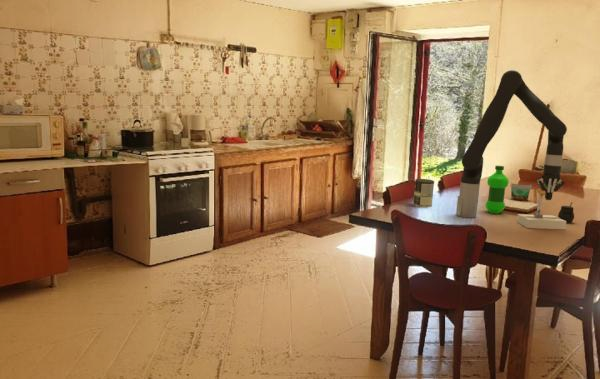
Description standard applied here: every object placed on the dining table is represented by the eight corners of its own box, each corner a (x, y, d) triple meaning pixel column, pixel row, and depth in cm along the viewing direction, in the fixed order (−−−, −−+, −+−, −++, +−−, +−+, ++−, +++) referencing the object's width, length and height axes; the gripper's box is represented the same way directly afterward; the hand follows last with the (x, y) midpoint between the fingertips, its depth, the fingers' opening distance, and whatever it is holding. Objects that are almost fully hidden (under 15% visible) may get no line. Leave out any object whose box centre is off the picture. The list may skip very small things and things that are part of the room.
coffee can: (410, 205, 285) (412, 180, 283) (416, 202, 294) (418, 178, 291) (428, 208, 280) (431, 182, 277) (434, 205, 289) (436, 180, 286)
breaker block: (527, 227, 244) (528, 219, 244) (516, 221, 256) (517, 213, 256) (565, 229, 245) (566, 221, 244) (552, 223, 257) (553, 215, 256)
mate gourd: (555, 221, 262) (557, 202, 260) (560, 219, 267) (563, 200, 265) (570, 224, 257) (573, 204, 255) (575, 222, 262) (578, 203, 260)
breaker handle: (537, 217, 248) (540, 190, 245) (532, 215, 252) (536, 188, 250) (543, 218, 248) (546, 190, 245) (539, 215, 252) (542, 189, 250)
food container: (510, 200, 314) (512, 184, 313) (508, 198, 320) (510, 182, 319) (531, 202, 312) (533, 186, 310) (529, 200, 318) (532, 184, 316)
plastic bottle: (506, 212, 279) (511, 166, 274) (502, 215, 270) (508, 168, 266) (486, 209, 284) (491, 164, 279) (482, 212, 275) (487, 166, 270)
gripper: (562, 163, 249) (557, 199, 252) (535, 162, 249) (530, 197, 252) (570, 165, 242) (565, 202, 245) (542, 164, 242) (538, 200, 245)
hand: (548, 199), depth 249 cm, fingers closed
